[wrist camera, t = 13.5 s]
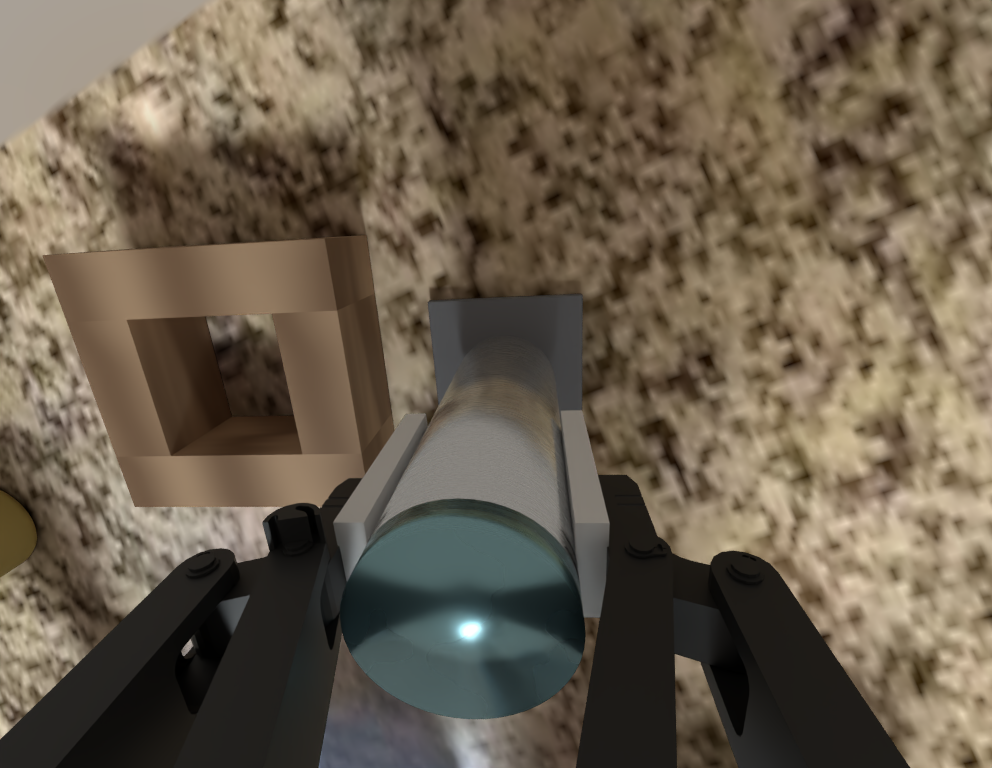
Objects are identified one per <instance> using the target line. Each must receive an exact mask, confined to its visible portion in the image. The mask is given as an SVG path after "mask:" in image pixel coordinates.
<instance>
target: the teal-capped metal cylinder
mask: <svg viewBox="0 0 992 768" xmlns="http://www.w3.org/2000/svg"><path fill="white" fill-rule="evenodd" d="M340 622H341V630H342V633H343V636H344V640H345V642H346V644H347V647H348V649H349V651H350V653H351V655H352V656H353V658H354V659H355V661H356V662H357V664H358V665H359V666H360V667H361V669H362V670H363V671H364V672H365V673H366V675H367V676H369V677H370V678H371V679H372V680H373V681H374V682H375V683H376V684H377V685H379V686H380V687H381V688H382V689H384V690H385V691H386V692H388V693H389V694H391V695H393V696H394V697H396V698H398V699H399V700H401V701H403V702H405V703H407V704H409V705H411V706H414V707H416V708H419V709H422V710H424V711H427V712H431V713H434V714H438V715H442V716H448V717H453V718H463V719H490V718H499V717H504V716H509V715H514V714H517V713H520V712H523V711H526V710H529V709H531V708H533V707H535V706H538V705H540V704H541V703H543V702H545V701H546V700H548V699H550V698H551V697H552V696H553V695H555V694H556V693H557V692H559V691H560V690H561V689H562V688H563V687H564V686H565V685H566V684H567V682H568V681H569V680H570V679H571V677H572V676H573V674H574V673H575V671H576V669H577V667H578V665H579V663H580V661H581V658H582V655H583V651H584V646H585V623H584V614H583V606H582V598H581V590H580V581H579V573H578V565H577V559H576V554H575V547H574V538H573V530H572V521H571V513H570V504H569V496H568V487H567V479H566V470H565V462H564V453H563V445H562V436H561V423H560V415H559V406H558V398H557V390H556V382H555V375H554V371H553V368H552V365H551V363H550V361H549V360H548V358H547V357H546V355H545V354H544V353H543V352H542V351H541V350H540V349H539V348H538V347H536V346H535V345H534V344H532V343H530V342H528V341H526V340H524V339H521V338H518V337H512V336H498V337H493V338H489V339H487V340H484V341H482V342H480V343H478V344H477V345H476V346H474V347H473V348H472V349H471V350H470V351H469V352H468V353H467V354H466V356H465V357H464V359H463V360H462V362H461V364H460V366H459V368H458V370H457V372H456V374H455V376H454V377H453V379H452V381H451V383H450V385H449V387H448V389H447V391H446V393H445V395H444V397H443V399H442V400H441V402H440V404H439V406H438V408H437V410H436V412H435V414H434V416H433V418H432V420H431V422H430V424H429V425H428V427H427V429H426V431H425V433H424V435H423V437H422V439H421V441H420V443H419V445H418V447H417V448H416V450H415V452H414V454H413V456H412V458H411V460H410V462H409V464H408V466H407V468H406V470H405V472H404V473H403V475H402V477H401V479H400V481H399V483H398V485H397V487H396V489H395V491H394V493H393V495H392V497H391V498H390V500H389V502H388V504H387V506H386V508H385V510H384V512H383V514H382V516H381V518H380V520H379V521H378V523H377V525H376V527H375V529H374V531H373V533H372V535H371V537H370V539H369V541H368V543H367V545H366V546H365V548H364V550H363V552H362V554H361V556H360V558H359V560H358V562H357V564H356V566H355V568H354V569H353V571H352V573H351V575H350V577H349V579H348V581H347V583H346V586H345V588H344V591H343V594H342V599H341V604H340Z"/></svg>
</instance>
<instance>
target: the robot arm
mask: <svg viewBox="0 0 992 768" xmlns="http://www.w3.org/2000/svg"><path fill="white" fill-rule="evenodd" d="M426 429H427V418H426V413H425V414H406V415H405V416H404V418H403V419H402V420H401V422H400V423H399V425H398V426H397V428H396V429H395V431H394V432H393V434H392V435H391V437H390V438H389V440H388V441H387V443H386V444H385V446H384V447H383V449H382V450H381V452H380V453H379V455H378V456H377V458H376V459H375V461H374V462H373V464H372V465H371V467H370V468H369V470H368V471H367V473H366V474H365V476H364V477H363V478H348V479H347V480H345V481H344V482H342V483H341V484H340V485H338V486H337V487H336V488H335V489H334V490H333V492H332V493H331V494H330V496H329V497H328V499H326V501H325V502H324V503H323V505H322V508H320V509H319V508H318V507H317V506H316V505H315V504H311V503H296V504H292V505H287V506H285V507H282V508H280V509H278V510H276V511H274V512H273V513H271V514H270V515H268V516H267V517H266V519H265V520H264V521H263V522H262V523H263V527H264V531H265V535H266V539H267V542H268V546H269V550H270V552H269V554H268V556H267V557H264V558H260V559H255V560H250V561H245V562H241V563H237V562H236V559H235V555H234V553H233V552H231V551H230V550H228V549H222V548H220V549H212V550H207V551H205V552H201V553H198V554H196V555H194V556H192V557H191V558H189V559H187V560H185V561H184V562H183V563H181V564H180V565H179V566H178V567H176V568H175V569H174V570H173V571H172V572H171V573H170V574H169V575H168V576H167V577H166V578H165V579H164V580H163V581H162V582H161V583H160V584H159V585H158V586H157V587H156V588H155V589H154V590H153V591H152V592H151V593H150V594H149V595H148V596H147V597H146V598H145V599H144V600H143V601H142V602H141V603H140V604H139V605H138V606H137V607H135V608H134V609H133V610H132V611H131V612H130V613H129V614H128V615H127V616H126V617H125V618H124V619H123V620H122V621H121V622H120V623H119V624H118V625H117V626H116V627H115V628H114V629H113V630H112V631H111V632H110V633H109V634H108V635H107V636H106V637H105V638H104V639H103V640H102V641H101V642H100V643H99V644H98V645H97V646H96V647H95V648H94V649H92V650H91V651H90V652H89V653H88V654H87V655H86V656H85V657H84V658H83V659H82V660H81V661H80V662H79V663H78V664H77V665H76V666H75V667H74V668H73V669H72V670H71V671H70V672H69V673H68V674H67V675H66V676H65V677H64V678H63V679H62V680H61V681H60V682H59V683H58V684H57V685H56V686H55V687H54V688H53V689H52V690H51V691H50V692H48V693H47V694H46V695H45V696H44V697H43V698H42V699H41V700H40V701H39V702H38V703H37V704H36V705H35V706H34V707H33V708H32V709H31V710H30V711H29V712H28V713H27V714H26V715H25V716H24V717H23V718H22V719H21V720H20V721H19V722H18V723H17V724H16V725H15V726H14V727H13V728H12V729H11V730H10V731H9V732H8V733H7V734H5V735H4V736H3V737H2V738H1V739H0V768H318V766H319V761H320V755H321V749H322V744H323V738H324V732H325V727H326V721H327V715H328V710H329V704H330V698H331V693H332V687H333V681H334V676H335V670H336V664H337V659H338V653H339V647H340V642H341V636H342V630H341V622H340V604H341V599H342V594H343V591H344V588H345V586H346V583H347V581H348V579H349V577H350V575H351V573H352V571H353V569H354V568H355V566H356V564H357V562H358V560H359V558H360V556H361V554H362V552H363V550H364V548H365V546H366V545H367V543H368V541H369V539H370V537H371V535H372V533H373V531H374V529H375V527H376V525H377V523H378V521H379V520H380V518H381V516H382V514H383V512H384V510H385V508H386V506H387V504H388V502H389V500H390V498H391V497H392V495H393V493H394V491H395V489H396V487H397V485H398V483H399V481H400V479H401V477H402V475H403V473H404V472H405V470H406V468H407V466H408V464H409V462H410V460H411V458H412V456H413V454H414V452H415V450H416V448H417V447H418V445H419V443H420V441H421V439H422V437H423V435H424V433H425V431H426ZM561 436H562V445H563V453H564V462H565V470H566V479H567V487H568V496H569V504H570V513H571V521H572V530H573V538H574V547H575V554H576V559H577V565H578V573H579V581H580V590H581V598H582V606H583V614H584V617H595V618H600V621H599V628H598V634H597V640H596V646H595V652H594V659H593V665H592V671H591V677H590V683H589V690H588V696H587V702H586V708H585V715H584V721H583V727H582V733H581V739H580V746H579V752H578V758H577V764H576V768H677V751H676V704H675V656H674V654H677V655H680V656H684V657H687V658H690V659H693V660H697V661H700V662H701V665H702V668H703V671H704V674H705V676H706V679H707V682H708V685H709V687H710V690H711V693H712V696H713V698H714V701H715V704H716V707H717V710H718V712H719V715H720V718H721V721H722V723H723V726H724V729H725V732H726V734H727V737H728V740H729V743H730V746H731V748H732V751H733V754H734V757H735V759H736V762H737V765H738V768H910V767H909V765H908V764H907V762H906V761H905V759H904V758H903V757H902V755H901V754H900V752H899V751H898V749H897V748H896V746H895V745H894V743H893V742H892V740H891V739H890V737H889V736H888V734H887V733H886V731H885V730H884V728H883V727H882V725H881V724H880V722H879V721H878V719H877V718H876V716H875V715H874V714H873V712H872V711H871V709H870V708H869V706H868V705H867V703H866V702H865V700H864V699H863V697H862V696H861V694H860V693H859V691H858V690H857V688H856V687H855V685H854V684H853V682H852V681H851V679H850V678H849V676H848V675H847V674H846V672H845V671H844V669H843V668H842V666H841V665H840V663H839V662H838V660H837V659H836V657H835V656H834V654H833V653H832V651H831V650H830V648H829V647H828V645H827V644H826V642H825V641H824V639H823V638H822V636H821V635H820V634H819V632H818V631H817V629H816V628H815V626H814V625H813V623H812V622H811V620H810V619H809V617H808V616H807V614H806V613H805V611H804V610H803V608H802V607H801V605H800V604H799V602H798V601H797V599H796V598H795V596H794V595H793V594H792V592H791V591H790V589H789V588H788V586H787V585H786V583H785V582H784V580H783V579H782V577H781V576H780V574H779V573H778V572H777V571H776V570H775V569H774V568H773V566H772V565H771V564H769V563H768V562H766V561H764V560H763V559H761V558H759V557H757V556H754V555H751V554H748V553H746V552H738V551H727V552H721V553H719V554H717V555H716V556H714V557H713V559H712V561H711V564H710V565H707V564H703V563H699V562H694V561H690V560H687V559H684V558H681V557H679V556H677V555H675V554H673V553H672V552H671V548H670V546H669V545H668V544H667V543H666V542H665V541H664V540H663V539H661V538H659V537H658V536H657V534H656V531H655V529H654V526H653V524H652V521H651V518H650V516H649V513H648V511H647V508H646V506H645V503H644V500H643V498H642V496H641V492H640V490H639V487H638V485H637V483H635V482H634V481H633V480H632V479H631V478H630V477H628V476H627V475H598V474H597V469H596V465H595V461H594V457H593V453H592V449H591V445H590V441H589V437H588V432H587V428H586V424H585V420H584V416H583V412H582V410H570V411H561ZM190 639H191V641H192V644H193V647H192V648H191V650H190V651H189V652H188V653H187V654H186V655H185V656H183V655H182V653H181V650H182V649H183V647H184V646H185V645H186V643H187V642H188V641H189V640H190Z"/></svg>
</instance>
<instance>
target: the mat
mask: <svg viewBox="0 0 992 768" xmlns="http://www.w3.org/2000/svg"><path fill="white" fill-rule="evenodd" d="M428 309H429V319H430V328H431V338H432V347H433V357H434V366H435V376H436V385H437V395H438V404H440V402H441V400H442V399H443V397H444V395H445V393H446V391H447V389H448V387H449V385H450V383H451V381H452V379H453V377H454V376H455V374H456V372H457V370H458V368H459V366H460V364H461V362H462V360H463V359H464V357H465V356H466V354H467V353H468V352H469V351H470V350H471V349H472V348H473V347H474V346H476V345H477V344H478V343H480V342H482V341H484V340H487V339H489V338H493V337H498V336H512V337H518V338H521V339H524V340H526V341H528V342H530V343H532V344H534V345H535V346H536V347H538V348H539V349H540V350H541V351H542V352H543V353H544V354H545V355H546V357H547V358H548V360H549V361H550V363H551V365H552V368H553V371H554V375H555V382H556V390H557V398H558V406H559V415H560V423H561V411H570V410H582V312H583V295H582V294H563V295H540V296H518V297H495V298H473V299H451V300H430V301H429V302H428Z"/></svg>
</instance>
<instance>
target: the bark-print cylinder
mask: <svg viewBox="0 0 992 768" xmlns="http://www.w3.org/2000/svg"><path fill="white" fill-rule="evenodd" d="M36 542H37V532H36V528H35V525H34V522H33V520H32V518H31V516H30V515H29V513H28V512H27V511H26V509H25V508H24V507H23V506H22V505H21V504H20V503H19V502H18V501H17V500H15V499H14V498H13V497H11V496H10V495H8V494H7V493H5V492H3V491H1V490H0V577H2V576H3V575H5V574H6V573H8V572H9V571H11V570H12V569H14V568H15V567H17V566H18V565H20V564H21V563H23V562H24V561H25V560H26V559H28V558H29V557H30V555H31V554H32V552H33V550H34V548H35V546H36Z"/></svg>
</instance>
